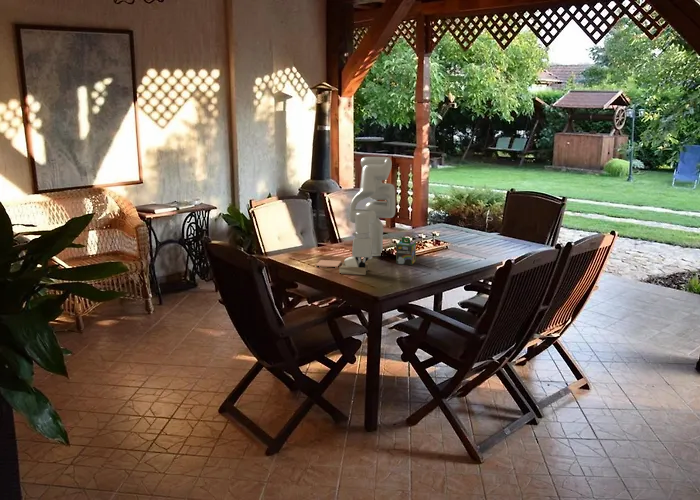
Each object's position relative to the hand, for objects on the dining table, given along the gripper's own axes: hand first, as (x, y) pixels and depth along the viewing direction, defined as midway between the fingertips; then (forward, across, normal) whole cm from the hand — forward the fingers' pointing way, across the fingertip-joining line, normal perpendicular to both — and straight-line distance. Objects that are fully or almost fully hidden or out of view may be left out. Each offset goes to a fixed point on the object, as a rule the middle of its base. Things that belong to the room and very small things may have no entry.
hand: (362, 269), depth 346 cm
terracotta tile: (+2, -20, +13) cm, 24 cm away
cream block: (+1, -4, 0) cm, 4 cm away
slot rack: (+2, -4, 0) cm, 5 cm away
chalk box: (+2, +22, +24) cm, 33 cm away
